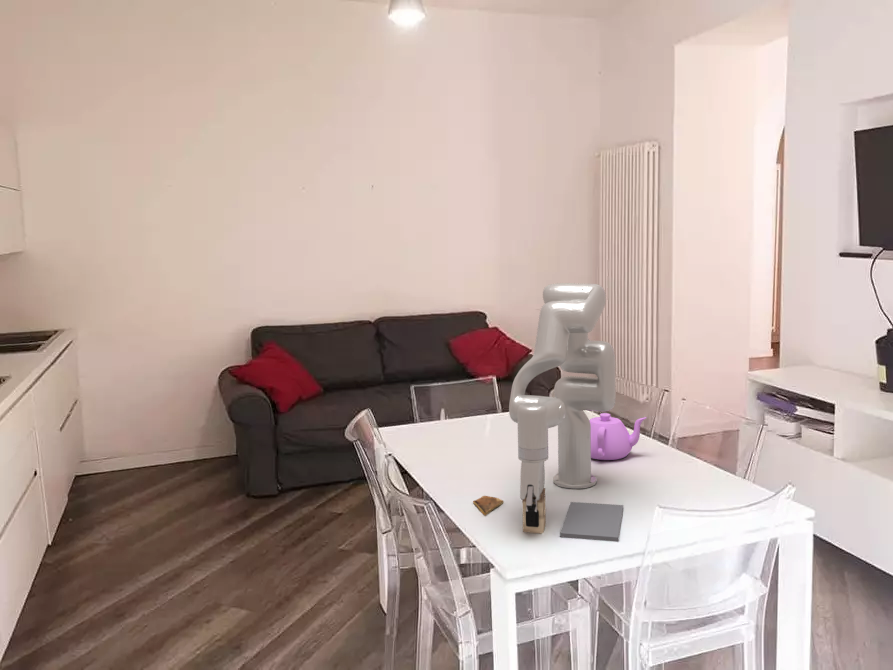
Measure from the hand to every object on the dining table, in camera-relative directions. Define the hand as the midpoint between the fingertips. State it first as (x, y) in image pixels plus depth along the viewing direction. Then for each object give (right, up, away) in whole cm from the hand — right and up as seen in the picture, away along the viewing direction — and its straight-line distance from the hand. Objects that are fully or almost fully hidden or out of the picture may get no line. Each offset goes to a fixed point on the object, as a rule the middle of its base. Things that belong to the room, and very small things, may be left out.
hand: (534, 521), depth 203 cm
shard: (-10, -1, +17) cm, 19 cm away
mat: (+15, -1, +3) cm, 16 cm away
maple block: (0, -2, 0) cm, 2 cm away
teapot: (+32, +8, +58) cm, 67 cm away
